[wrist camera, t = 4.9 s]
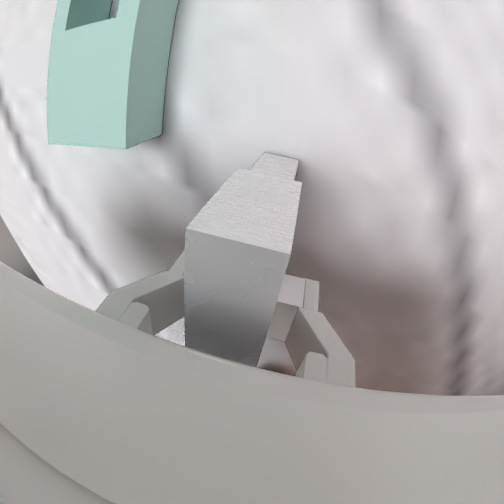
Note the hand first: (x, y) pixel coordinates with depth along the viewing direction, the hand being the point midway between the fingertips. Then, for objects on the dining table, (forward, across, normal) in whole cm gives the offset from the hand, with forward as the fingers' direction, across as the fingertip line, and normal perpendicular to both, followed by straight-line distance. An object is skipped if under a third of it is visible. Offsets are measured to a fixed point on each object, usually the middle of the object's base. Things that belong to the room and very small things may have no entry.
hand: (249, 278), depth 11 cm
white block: (+4, 0, 0) cm, 4 cm away
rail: (+4, +8, -14) cm, 17 cm away
